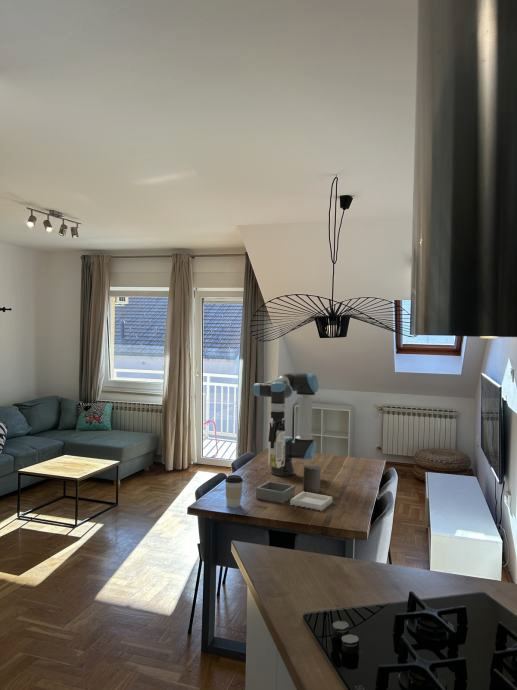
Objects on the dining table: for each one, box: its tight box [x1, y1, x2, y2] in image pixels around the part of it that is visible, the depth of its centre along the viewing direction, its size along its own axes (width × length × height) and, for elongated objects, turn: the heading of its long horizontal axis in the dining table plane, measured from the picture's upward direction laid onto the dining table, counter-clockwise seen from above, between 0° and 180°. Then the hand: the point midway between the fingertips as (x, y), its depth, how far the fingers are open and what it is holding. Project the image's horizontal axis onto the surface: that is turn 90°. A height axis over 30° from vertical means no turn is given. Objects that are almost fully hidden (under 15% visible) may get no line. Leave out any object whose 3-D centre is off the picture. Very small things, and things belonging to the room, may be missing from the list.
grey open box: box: [255, 480, 296, 504], centre depth 265 cm, size 16×15×6 cm
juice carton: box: [267, 430, 286, 468], centre depth 265 cm, size 8×9×19 cm
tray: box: [289, 491, 333, 512], centre depth 255 cm, size 17×16×3 cm
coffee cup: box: [224, 474, 244, 508], centre depth 250 cm, size 9×9×15 cm
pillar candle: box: [302, 463, 322, 494], centre depth 279 cm, size 10×10×15 cm
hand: (276, 452), depth 265 cm, fingers closed on juice carton, 8 cm apart
